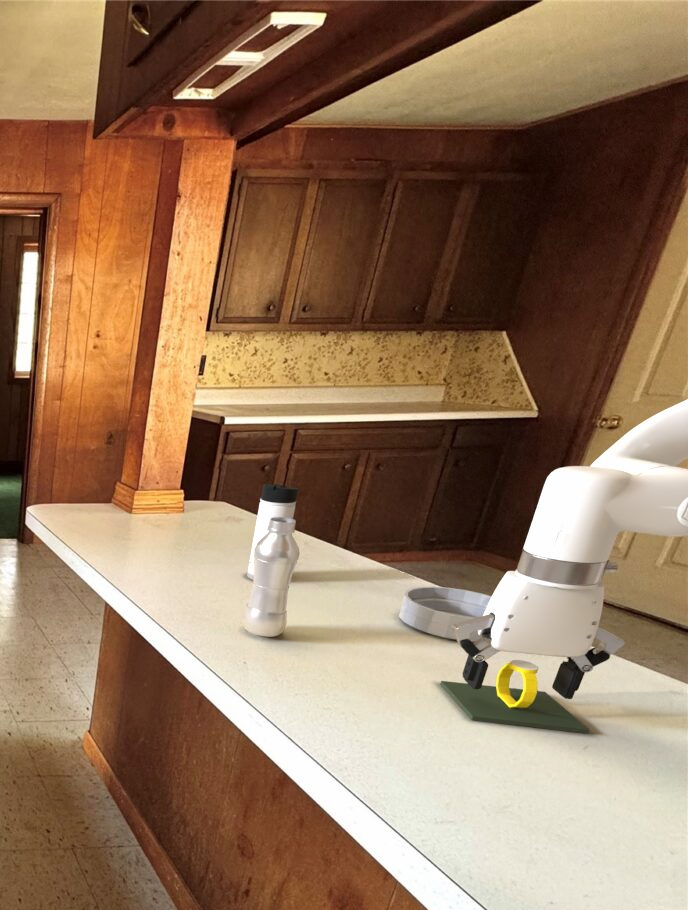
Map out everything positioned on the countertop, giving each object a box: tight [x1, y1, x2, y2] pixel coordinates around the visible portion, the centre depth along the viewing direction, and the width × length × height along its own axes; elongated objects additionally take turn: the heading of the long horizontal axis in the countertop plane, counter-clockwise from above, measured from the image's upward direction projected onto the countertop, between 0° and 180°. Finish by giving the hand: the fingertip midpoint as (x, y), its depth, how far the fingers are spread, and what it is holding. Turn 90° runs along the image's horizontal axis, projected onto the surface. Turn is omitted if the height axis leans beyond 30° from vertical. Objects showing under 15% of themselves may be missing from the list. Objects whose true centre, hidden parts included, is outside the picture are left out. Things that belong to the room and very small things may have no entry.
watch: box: [495, 659, 539, 709], centre depth 88 cm, size 6×3×6 cm, turn 164°
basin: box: [398, 586, 492, 643], centre depth 113 cm, size 15×15×4 cm
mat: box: [439, 680, 590, 735], centre depth 89 cm, size 12×10×1 cm
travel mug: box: [246, 483, 299, 581], centre depth 134 cm, size 6×7×20 cm
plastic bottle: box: [242, 517, 300, 638], centre depth 110 cm, size 6×7×20 cm
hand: (515, 689), depth 88 cm, fingers open, 9 cm apart
